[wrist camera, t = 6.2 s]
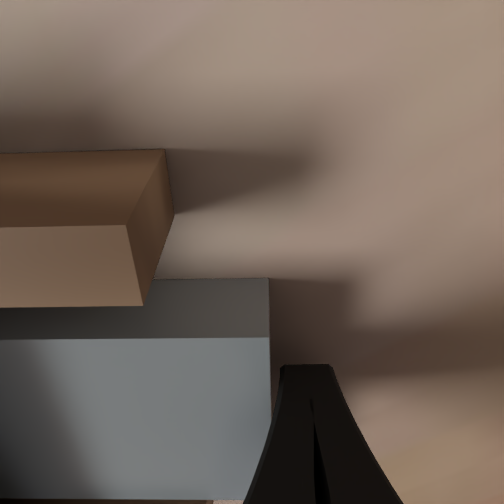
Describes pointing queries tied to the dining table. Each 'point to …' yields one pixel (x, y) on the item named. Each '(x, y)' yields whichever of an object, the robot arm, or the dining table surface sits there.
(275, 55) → the dining table surface
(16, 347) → the tile
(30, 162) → the shelf
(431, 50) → the dining table surface
